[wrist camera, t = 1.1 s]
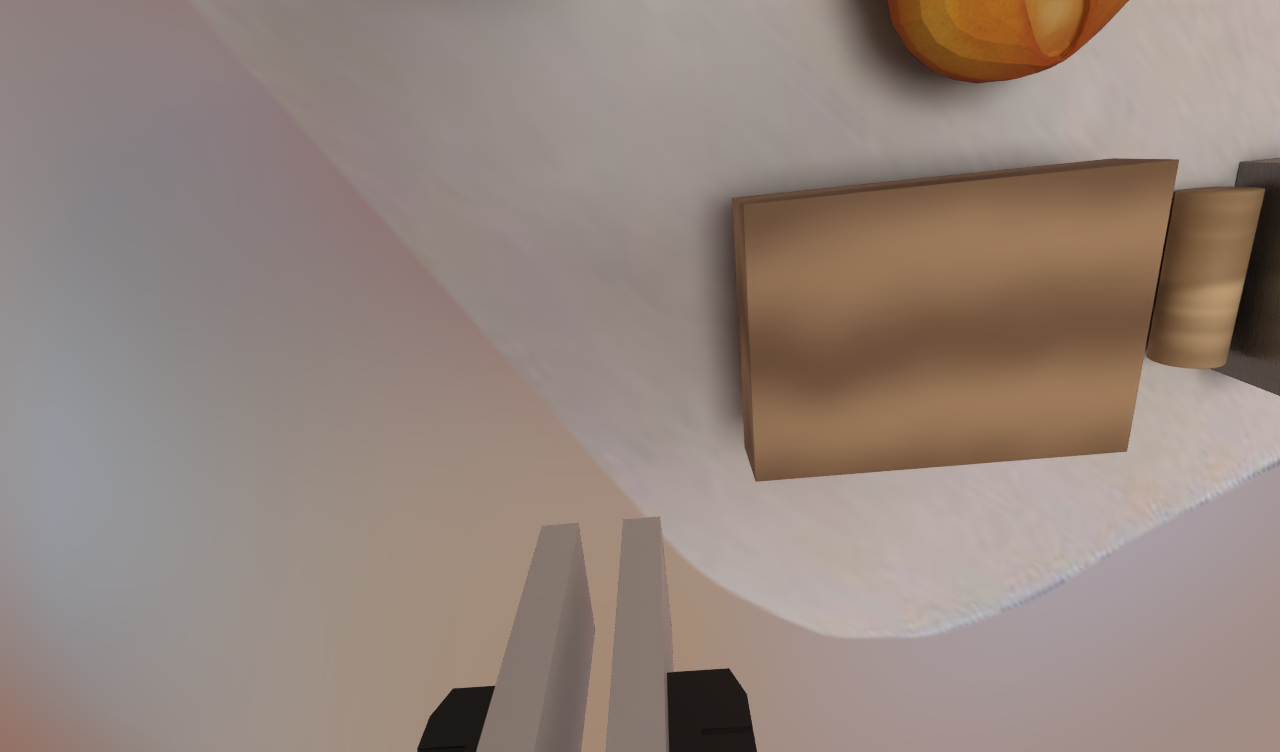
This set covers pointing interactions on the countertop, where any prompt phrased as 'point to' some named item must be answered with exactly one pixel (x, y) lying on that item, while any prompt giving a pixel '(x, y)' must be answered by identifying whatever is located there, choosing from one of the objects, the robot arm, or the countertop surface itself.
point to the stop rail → (1259, 288)
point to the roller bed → (1203, 275)
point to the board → (947, 316)
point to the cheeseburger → (997, 34)
